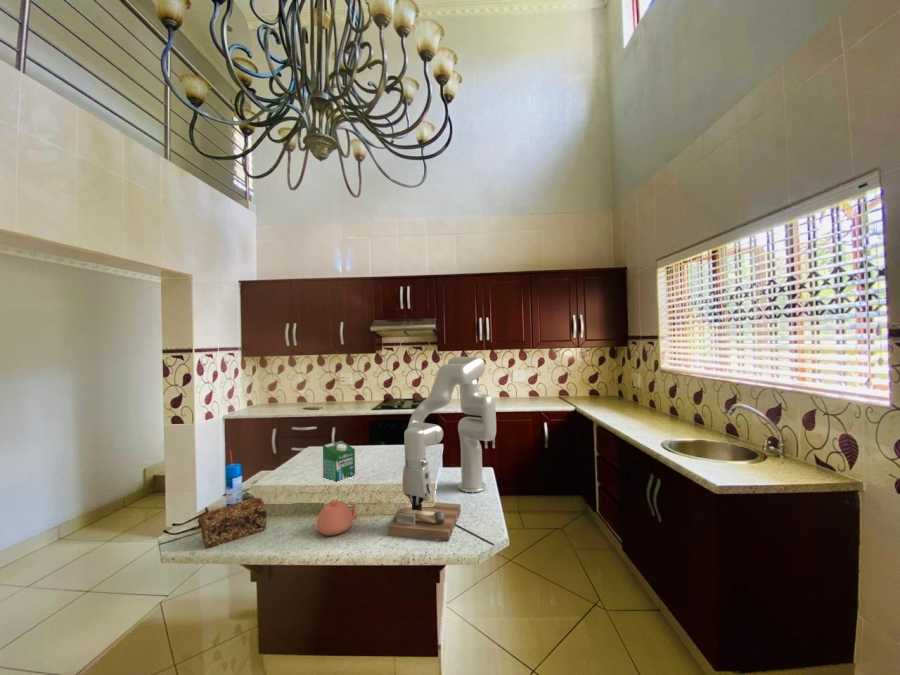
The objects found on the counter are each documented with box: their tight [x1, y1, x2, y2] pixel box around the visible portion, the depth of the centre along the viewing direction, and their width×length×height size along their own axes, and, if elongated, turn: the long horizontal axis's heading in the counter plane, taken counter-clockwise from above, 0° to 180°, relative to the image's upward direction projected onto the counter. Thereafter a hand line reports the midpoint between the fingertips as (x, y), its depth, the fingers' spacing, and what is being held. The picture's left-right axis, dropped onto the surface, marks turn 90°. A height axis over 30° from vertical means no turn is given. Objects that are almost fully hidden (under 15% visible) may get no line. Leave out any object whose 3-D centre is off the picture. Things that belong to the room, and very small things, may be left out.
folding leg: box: [397, 508, 444, 524], centre depth 124 cm, size 17×3×3 cm, turn 75°
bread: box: [200, 497, 268, 549], centre depth 123 cm, size 19×11×10 cm, turn 130°
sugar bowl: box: [315, 500, 358, 536], centre depth 125 cm, size 12×14×10 cm
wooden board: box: [387, 501, 462, 542], centre depth 128 cm, size 21×21×6 cm
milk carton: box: [322, 440, 356, 482], centre depth 144 cm, size 9×9×25 cm
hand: (417, 513), depth 128 cm, fingers closed
